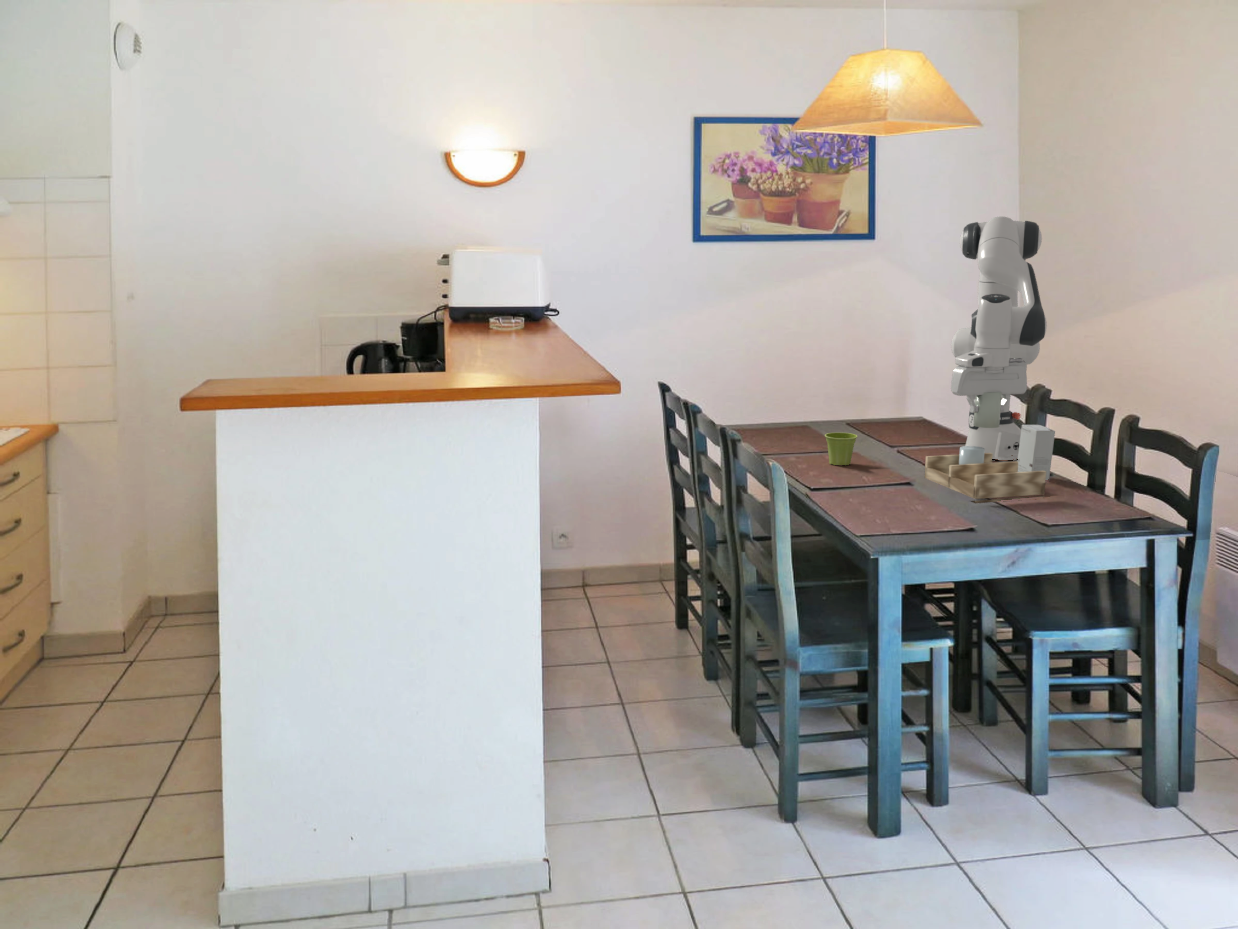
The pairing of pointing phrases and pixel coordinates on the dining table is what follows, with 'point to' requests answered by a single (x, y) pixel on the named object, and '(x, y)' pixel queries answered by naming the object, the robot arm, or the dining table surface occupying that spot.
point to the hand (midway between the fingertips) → (987, 411)
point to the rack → (984, 478)
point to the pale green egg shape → (988, 410)
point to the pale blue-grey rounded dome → (971, 455)
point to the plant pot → (840, 447)
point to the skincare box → (1035, 449)
